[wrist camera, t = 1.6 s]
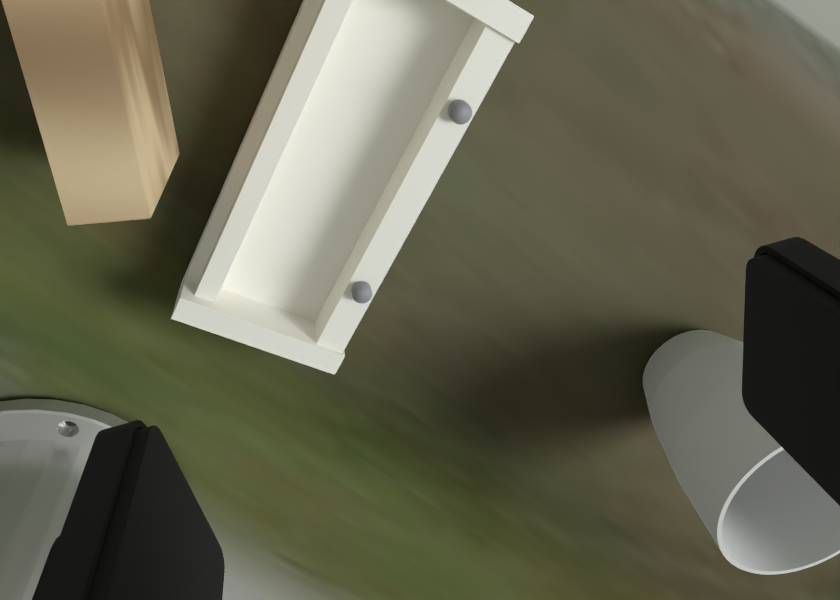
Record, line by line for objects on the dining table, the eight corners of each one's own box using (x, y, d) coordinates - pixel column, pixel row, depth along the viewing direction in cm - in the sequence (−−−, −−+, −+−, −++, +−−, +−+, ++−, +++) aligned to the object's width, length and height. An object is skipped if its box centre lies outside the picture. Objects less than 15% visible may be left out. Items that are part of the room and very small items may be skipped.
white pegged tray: (330, 336, 32) (335, 377, 29) (181, 282, 29) (170, 321, 27) (507, 7, 27) (536, 17, 24) (344, -95, 24) (352, -98, 21)
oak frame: (179, 153, 27) (150, 218, 21) (112, 158, 27) (62, 226, 21) (119, -149, 22) (59, -178, 16) (36, -148, 22) (-58, -177, 16)
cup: (694, 446, 40) (810, 590, 31) (585, 405, 37) (679, 552, 28) (786, 334, 37) (940, 458, 28) (676, 280, 34) (811, 401, 25)
